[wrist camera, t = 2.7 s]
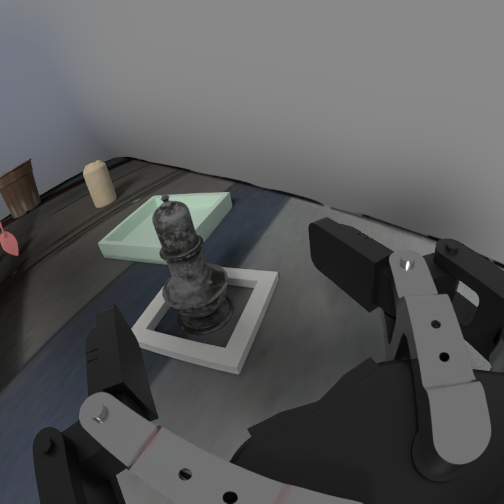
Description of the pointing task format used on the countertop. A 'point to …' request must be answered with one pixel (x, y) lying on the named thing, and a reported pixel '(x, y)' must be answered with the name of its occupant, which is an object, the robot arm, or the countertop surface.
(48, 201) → the countertop surface
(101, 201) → the candle
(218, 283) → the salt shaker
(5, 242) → the figurine
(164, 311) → the square frame
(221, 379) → the countertop surface
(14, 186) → the plant pot
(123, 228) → the parts tray
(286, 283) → the countertop surface
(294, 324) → the countertop surface
